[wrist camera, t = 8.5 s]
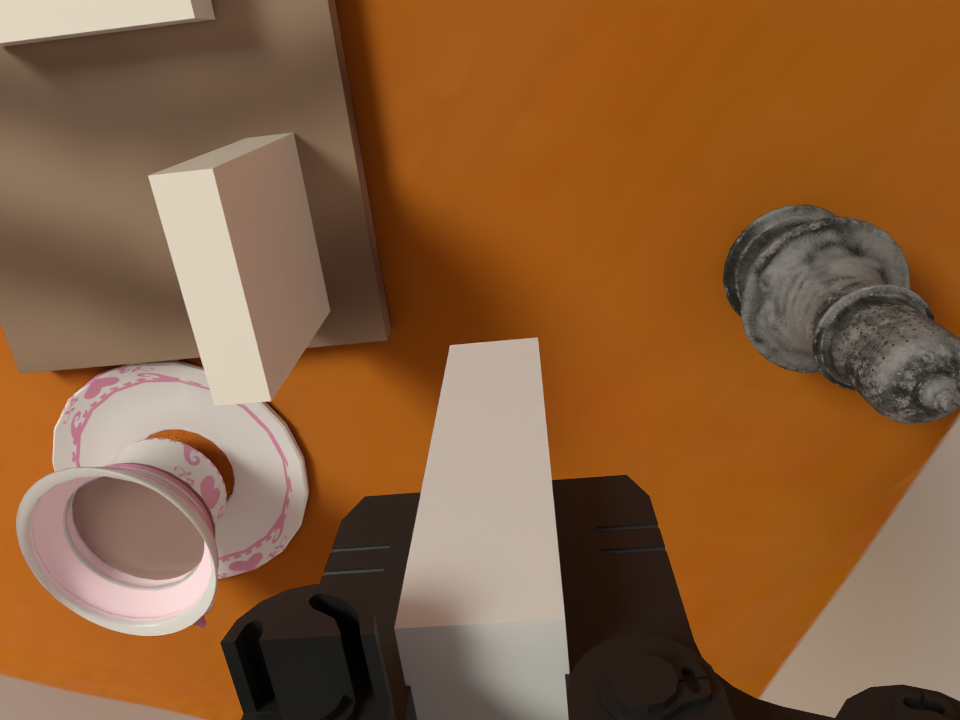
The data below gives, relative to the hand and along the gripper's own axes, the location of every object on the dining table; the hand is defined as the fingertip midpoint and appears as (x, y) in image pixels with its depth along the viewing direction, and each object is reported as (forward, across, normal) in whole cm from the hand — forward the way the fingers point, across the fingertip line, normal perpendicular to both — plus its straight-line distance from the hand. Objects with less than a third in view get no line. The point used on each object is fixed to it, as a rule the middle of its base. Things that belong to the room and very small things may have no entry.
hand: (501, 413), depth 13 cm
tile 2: (+16, -8, 0) cm, 18 cm away
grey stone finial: (+18, +11, -4) cm, 21 cm away
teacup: (+18, -16, -11) cm, 27 cm away
